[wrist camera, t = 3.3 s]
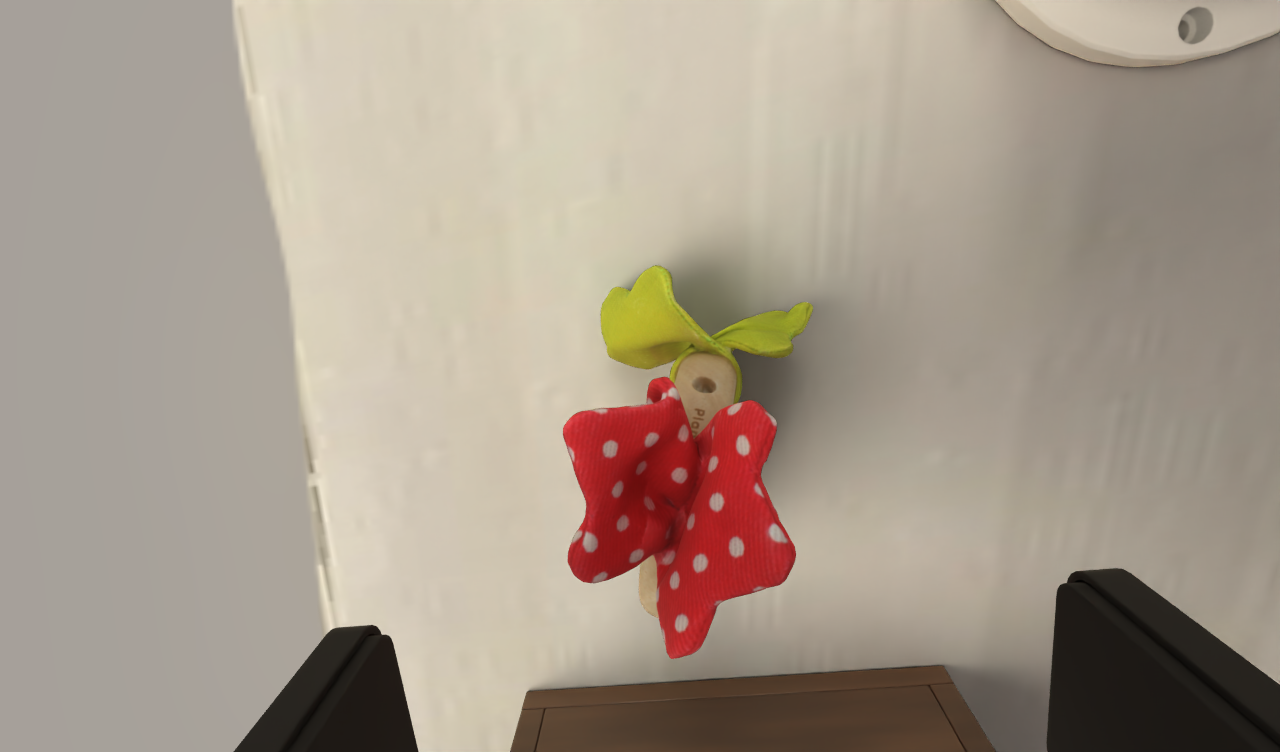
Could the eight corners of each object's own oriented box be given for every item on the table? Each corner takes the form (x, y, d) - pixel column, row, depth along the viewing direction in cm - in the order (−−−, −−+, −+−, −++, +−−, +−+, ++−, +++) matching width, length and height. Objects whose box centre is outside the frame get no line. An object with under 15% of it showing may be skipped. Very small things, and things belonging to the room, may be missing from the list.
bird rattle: (773, 445, 23) (819, 219, 18) (829, 780, 15) (953, 548, 9) (607, 438, 24) (600, 213, 18) (565, 765, 15) (524, 529, 9)
